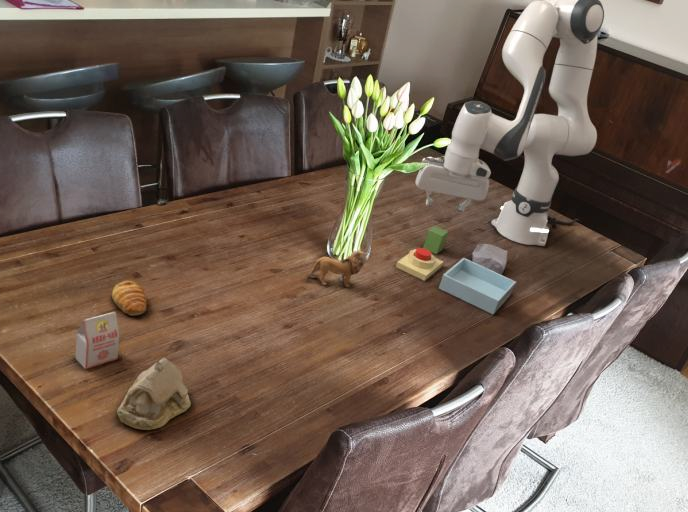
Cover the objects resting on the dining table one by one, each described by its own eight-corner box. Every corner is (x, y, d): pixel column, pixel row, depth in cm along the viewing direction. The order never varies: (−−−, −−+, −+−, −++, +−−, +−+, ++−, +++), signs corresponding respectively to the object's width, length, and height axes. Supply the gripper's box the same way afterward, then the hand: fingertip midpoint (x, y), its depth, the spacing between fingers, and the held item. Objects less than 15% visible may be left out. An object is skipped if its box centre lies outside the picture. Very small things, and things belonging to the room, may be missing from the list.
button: (418, 251, 210) (420, 246, 209) (432, 258, 208) (434, 252, 207) (411, 256, 206) (413, 250, 205) (425, 263, 205) (427, 257, 204)
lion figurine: (355, 276, 196) (363, 246, 191) (362, 288, 192) (371, 257, 187) (302, 275, 190) (309, 244, 185) (308, 287, 186) (316, 255, 181)
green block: (428, 243, 223) (434, 225, 220) (442, 249, 222) (448, 231, 218) (422, 248, 219) (428, 229, 216) (436, 254, 218) (442, 236, 215)
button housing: (413, 253, 215) (417, 243, 213) (441, 266, 212) (445, 256, 210) (395, 267, 206) (398, 256, 204) (424, 281, 203) (428, 269, 201)
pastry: (153, 315, 161) (154, 301, 159) (122, 319, 158) (123, 304, 156) (139, 292, 167) (140, 277, 165) (108, 295, 164) (109, 280, 162)
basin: (458, 270, 213) (463, 257, 211) (511, 295, 208) (516, 281, 206) (438, 288, 201) (443, 274, 199) (493, 314, 197) (498, 300, 194)
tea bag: (75, 358, 144) (77, 315, 139) (107, 348, 149) (110, 306, 143) (85, 369, 142) (87, 325, 137) (117, 359, 147) (120, 316, 141)
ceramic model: (145, 376, 145) (149, 334, 139) (198, 397, 143) (205, 355, 138) (105, 418, 133) (108, 373, 128) (162, 441, 132) (168, 397, 126)
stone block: (470, 272, 218) (505, 276, 216) (472, 256, 215) (507, 260, 214) (472, 256, 228) (505, 260, 226) (474, 241, 225) (508, 245, 224)
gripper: (425, 159, 202) (410, 206, 209) (496, 173, 206) (480, 219, 213) (421, 150, 207) (407, 196, 214) (491, 164, 211) (475, 209, 218)
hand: (444, 208), depth 214 cm, fingers open, 8 cm apart
